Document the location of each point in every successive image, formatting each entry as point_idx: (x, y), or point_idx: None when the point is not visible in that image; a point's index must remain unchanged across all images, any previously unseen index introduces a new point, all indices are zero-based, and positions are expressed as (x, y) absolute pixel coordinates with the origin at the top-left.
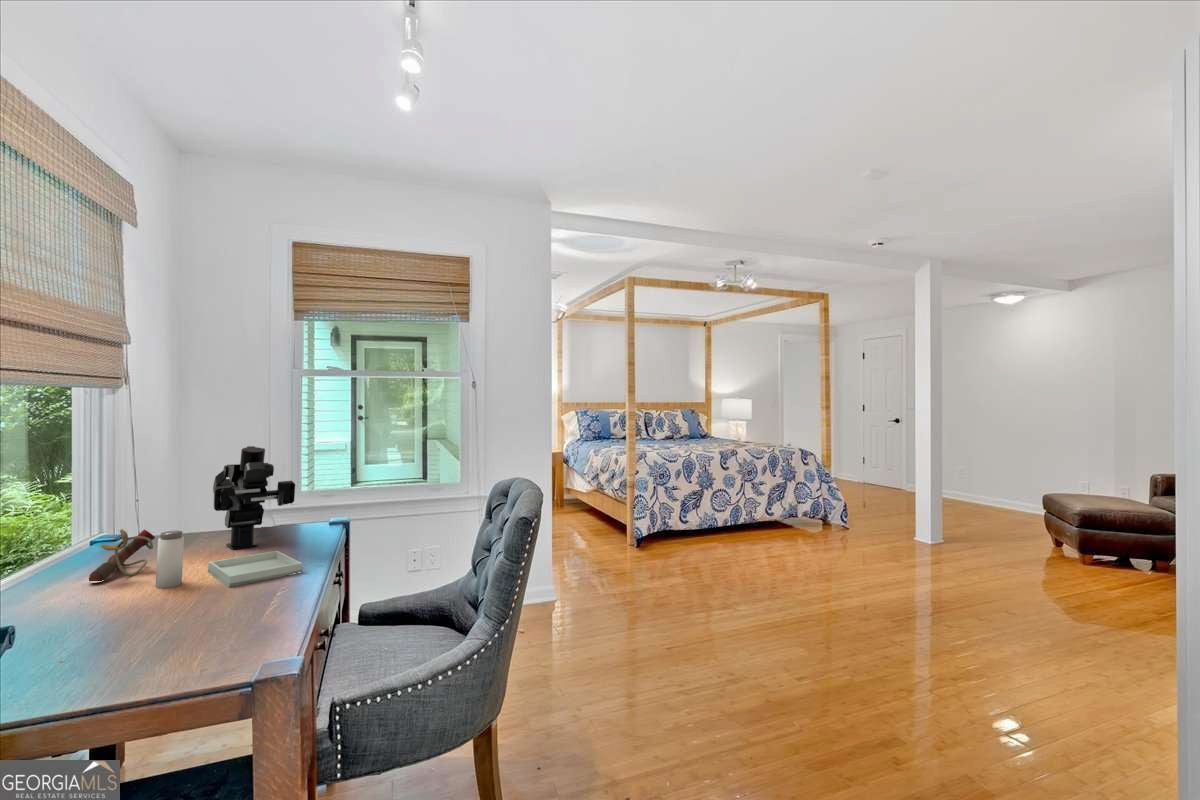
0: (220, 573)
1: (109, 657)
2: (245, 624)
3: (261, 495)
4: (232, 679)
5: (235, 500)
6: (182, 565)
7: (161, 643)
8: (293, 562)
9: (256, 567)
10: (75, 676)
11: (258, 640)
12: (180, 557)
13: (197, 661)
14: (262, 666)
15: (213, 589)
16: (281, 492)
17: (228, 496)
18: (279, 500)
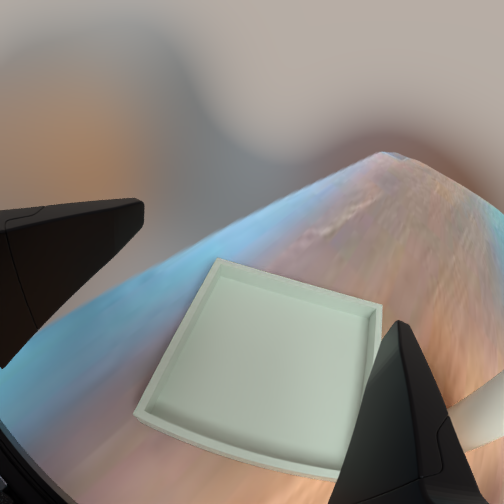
0: None
1: (488, 236)
2: (397, 200)
3: (12, 438)
4: (420, 163)
5: (434, 396)
6: (457, 409)
7: (461, 226)
8: (207, 292)
9: (262, 380)
10: (497, 229)
11: (396, 176)
12: (480, 387)
13: (437, 188)
14: (402, 159)
15: None
16: (4, 219)
17: (482, 500)
18: (126, 205)
